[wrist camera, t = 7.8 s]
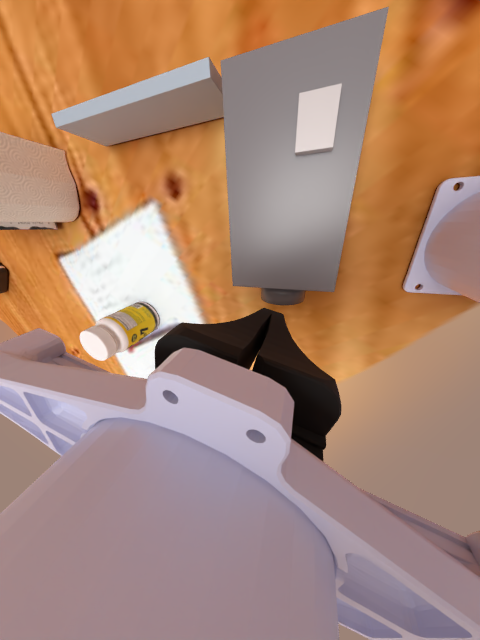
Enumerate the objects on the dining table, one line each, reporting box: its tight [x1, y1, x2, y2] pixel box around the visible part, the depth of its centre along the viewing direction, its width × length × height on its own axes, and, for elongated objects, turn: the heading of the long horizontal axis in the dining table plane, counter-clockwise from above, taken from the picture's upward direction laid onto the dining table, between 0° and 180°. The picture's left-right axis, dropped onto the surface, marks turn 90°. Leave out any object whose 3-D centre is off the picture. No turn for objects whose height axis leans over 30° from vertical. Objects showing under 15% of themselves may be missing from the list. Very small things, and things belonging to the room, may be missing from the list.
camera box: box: [221, 7, 389, 305], centre depth 15 cm, size 8×15×6 cm, turn 1°
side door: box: [52, 57, 224, 146], centre depth 15 cm, size 2×14×4 cm, turn 92°
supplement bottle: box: [80, 302, 159, 361], centre depth 25 cm, size 5×5×8 cm
